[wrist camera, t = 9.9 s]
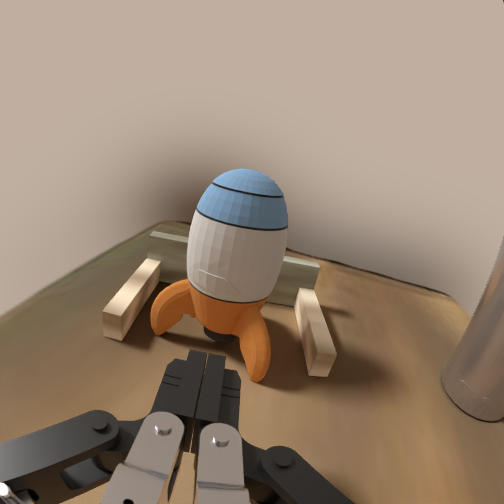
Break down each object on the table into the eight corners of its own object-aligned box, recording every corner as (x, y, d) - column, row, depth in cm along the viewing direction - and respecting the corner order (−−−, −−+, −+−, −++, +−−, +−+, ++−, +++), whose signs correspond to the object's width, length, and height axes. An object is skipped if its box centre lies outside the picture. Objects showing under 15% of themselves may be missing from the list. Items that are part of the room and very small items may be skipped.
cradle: (327, 377, 23) (348, 326, 21) (103, 336, 22) (101, 280, 20) (305, 301, 35) (317, 262, 34) (150, 272, 34) (153, 231, 33)
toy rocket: (232, 310, 32) (297, 179, 27) (289, 388, 25) (389, 241, 19) (138, 311, 26) (194, 144, 20) (182, 414, 18) (284, 211, 13)
